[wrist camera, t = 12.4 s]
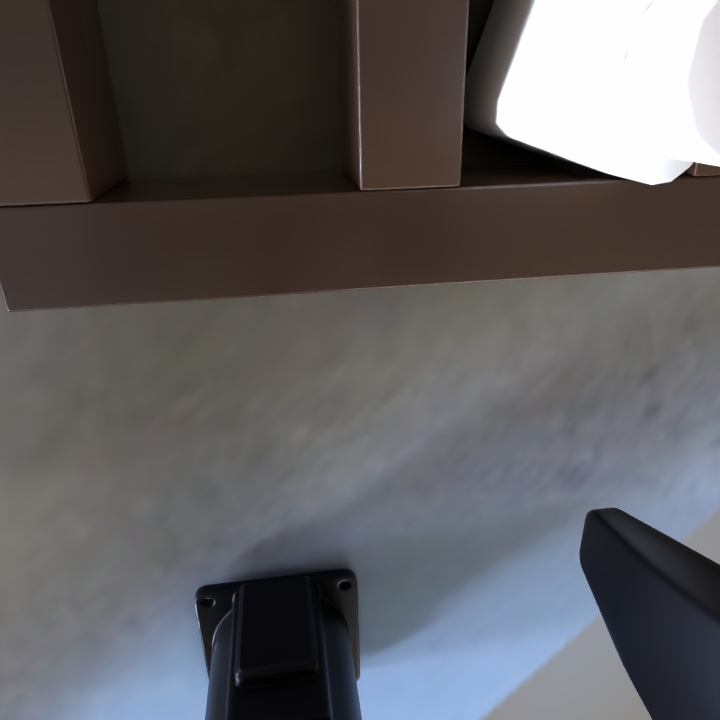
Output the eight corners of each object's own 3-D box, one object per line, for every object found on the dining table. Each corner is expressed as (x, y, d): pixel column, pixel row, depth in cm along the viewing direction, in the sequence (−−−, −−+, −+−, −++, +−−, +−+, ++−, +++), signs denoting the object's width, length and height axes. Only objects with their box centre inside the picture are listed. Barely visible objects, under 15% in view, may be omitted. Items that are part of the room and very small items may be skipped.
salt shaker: (444, 119, 18) (610, 151, 9) (498, -30, 16) (756, -161, 8) (559, 163, 19) (805, 227, 10) (619, 26, 17) (966, -35, 9)
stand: (670, 233, 20) (757, 265, 17) (59, 267, 18) (6, 313, 14) (756, -194, 15) (904, -280, 12) (-60, -221, 13) (-185, -338, 10)
